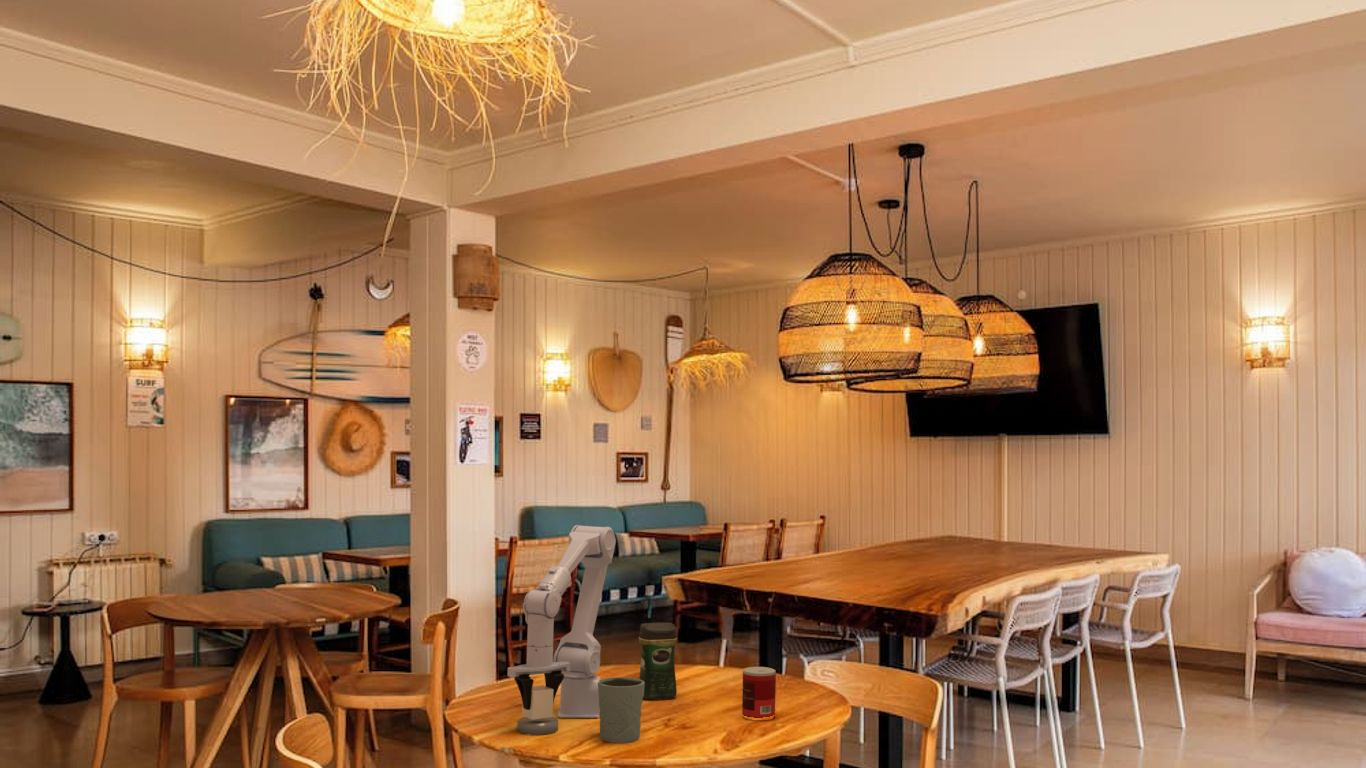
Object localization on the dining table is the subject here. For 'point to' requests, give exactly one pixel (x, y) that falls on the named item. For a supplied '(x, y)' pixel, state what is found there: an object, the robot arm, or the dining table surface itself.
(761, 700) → the canned food
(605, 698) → the green cup
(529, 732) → the slate trivet
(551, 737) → the dining table surface
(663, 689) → the coffee jar
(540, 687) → the cream block
